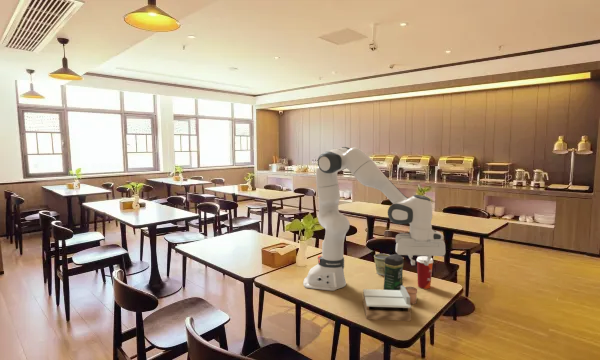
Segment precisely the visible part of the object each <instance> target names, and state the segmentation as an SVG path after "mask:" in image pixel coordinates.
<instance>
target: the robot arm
mask: <svg viewBox="0 0 600 360" xmlns="http://www.w3.org/2000/svg"><path fill="white" fill-rule="evenodd" d="M345 169H347V170H348V171H349V172H350V173H351V174H352V176H353V177H354V178H355V179H356V180H357V182H359V183H360V184H361V185H362V186H364V187H367V188H368V187H369V188H372V189H375V190H378V191H380V192H381V193H382V194H383V195H384V196H385V197H386V198H387V199H388V200H389V201H390V202H391V203H392V204H391V205H390V206H389V207H388V209H387V216H388V219H389V221H391V222H392V223H393V224H395V225H407V224H409V232H405V233H404V232H399V233H398V234H396V235H395V243H396V244H395V254H397V255H401V256H408V258H409V260H410V264H411V266H416V260H415V259H413V258H414V257H413V256H427V257H428V258H427V259H426V260H424V265H426V266H428V265H429V261H430V260H431V258H432V256H433V257H435V256H436V257H444V256H445V255H446V243H445V241H444V235H443V233H441V232H440V231H438V230H435V229H433V226H432V219H433V204H432V203H433V202H432V200H431V199H430V198H429V197H427V196H425V195H421V194H420V195H419V194H415V195H412V196H410V197H408V196H406V195H405V194H404V193H403V192H402V191H401V190H400V189H399V188H398V186H396V185H395V183H393V182H392V181H391V180H390V179H389V178H388V177H387V176H386V175H385V174H384V172H382V170H381V169H380V168H379V167H378V165H377V164H376V163H375V162H374V161H373V159H372V158H371V157H370V156H369V155H368V154H367V153H366V152H365V151H363V150H362V149H361V148H359V147H354V146H353V147H347V146H341V147H336V148H333V149H331V150H328V151H324V152H322V153H321V154H320V155H319V156H318V158H317V166H316V168H315V183H316V185H315V186H316V191H317V196H318V198H317V199H318V214H317V221H318V223H319V225H320V226H321V227H322V228H323V229H325V233H324V234H325V235H324V239H323V240H322V242H321V244H322V245H321V255H320V254H318V256H317V261H318V262H317V264H316V265H314V266H313V267H311V268H310V269H309V271H308V273H307V276H306V277H304V279H303V283H302V285H303V287H304V288H306V289H313V290H323V291H331V292H333V291H336V290H337V289H341V288H344V287H346V285H347V280H346V278H345V271H344V268H345V257H344V242H345V239H346V234H347V233H348V232H349V229H350V220H349V218H347V216H346V215H344V214H343V213H342V212H340V211H339V202H340V199H341V194H340V187H339V180H338V172H341V171H344V170H345ZM432 259H433V258H432Z"/></svg>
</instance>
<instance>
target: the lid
mask: <svg viewBox="0 0 600 360" xmlns="http://www.w3.org/2000/svg"><path fill="white" fill-rule="evenodd" d="M405 287H406V286H405V285H403V286H401V290H384V289H373V288H372V289H371V288H370V289H367V288H364V289H362V293H363V292H364V296H365V300H366V305H367V306H373V307H400V308H410V309H412V306H411V305H412V304H410V296H409V294H408V292H407V290H406V288H405Z"/></svg>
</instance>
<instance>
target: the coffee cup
mask: <svg viewBox="0 0 600 360" xmlns="http://www.w3.org/2000/svg"><path fill="white" fill-rule="evenodd" d="M427 258H428V257H427V256H423V255H418V256H417V258H416V260H415V262H416V264H417V265H416V267H417V268H416V269H417V272H416V273H417V287H418V288H420V289H424V290H427V289H430V288H431V286H432V285H431V283H432V273H433V263H434V260H433V259H434V258H431V260H430V261H429V265H428V266H426V265H424V260H426V259H427Z"/></svg>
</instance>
